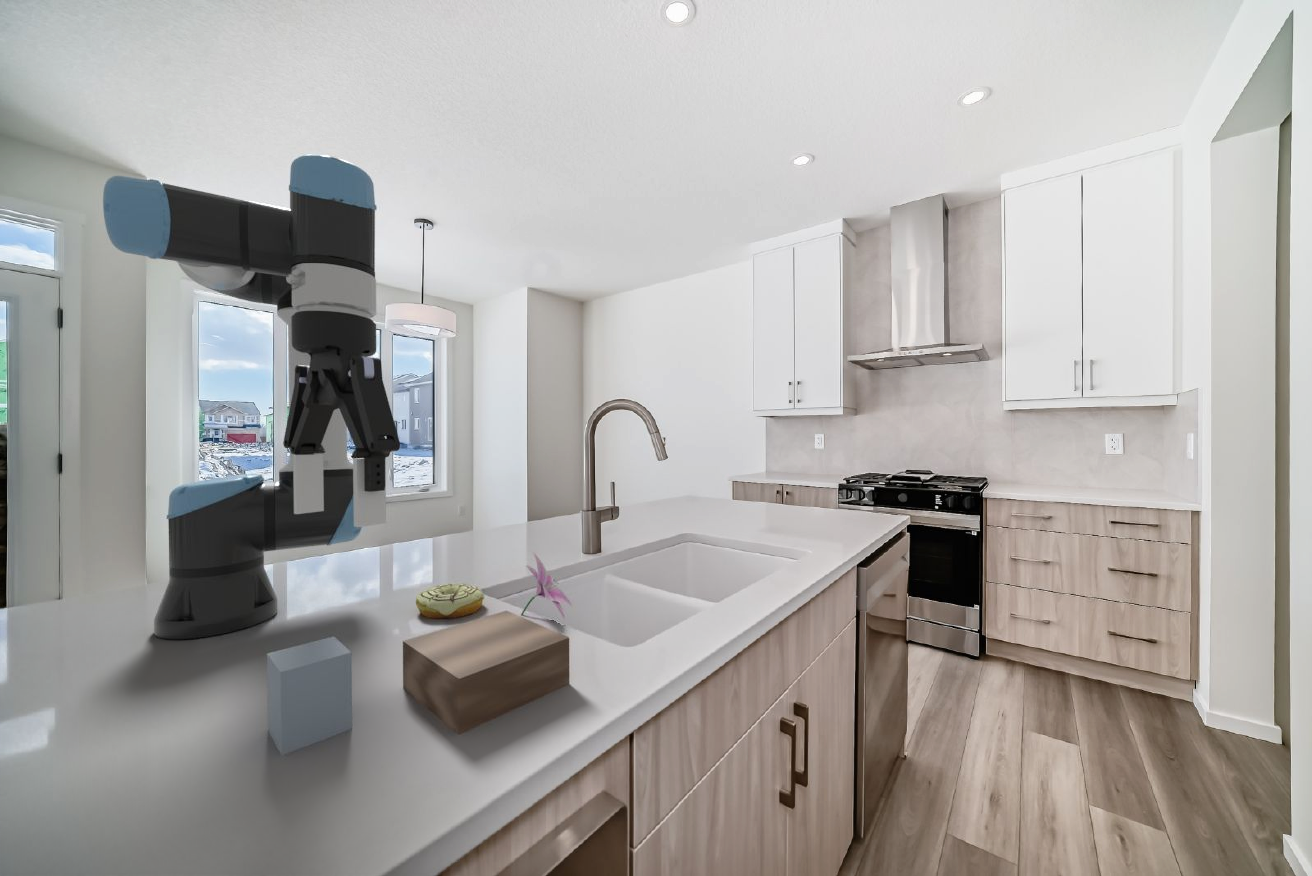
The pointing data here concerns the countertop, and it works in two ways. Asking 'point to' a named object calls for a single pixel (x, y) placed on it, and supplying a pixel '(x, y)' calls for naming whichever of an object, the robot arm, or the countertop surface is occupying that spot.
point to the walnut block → (484, 668)
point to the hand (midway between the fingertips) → (337, 518)
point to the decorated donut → (449, 600)
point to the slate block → (309, 693)
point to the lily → (547, 587)
